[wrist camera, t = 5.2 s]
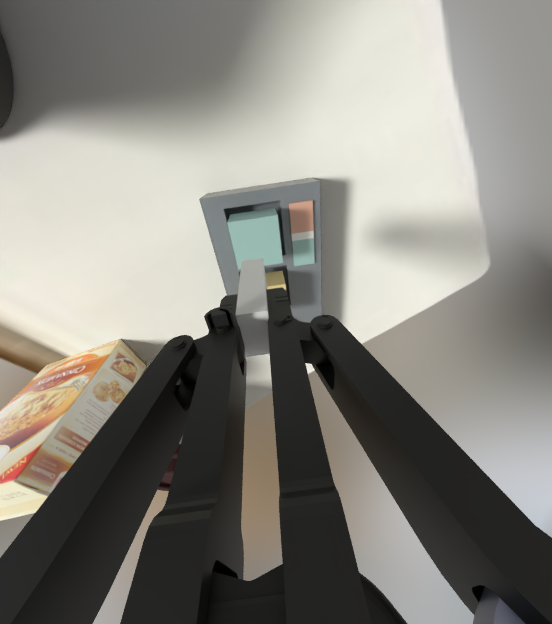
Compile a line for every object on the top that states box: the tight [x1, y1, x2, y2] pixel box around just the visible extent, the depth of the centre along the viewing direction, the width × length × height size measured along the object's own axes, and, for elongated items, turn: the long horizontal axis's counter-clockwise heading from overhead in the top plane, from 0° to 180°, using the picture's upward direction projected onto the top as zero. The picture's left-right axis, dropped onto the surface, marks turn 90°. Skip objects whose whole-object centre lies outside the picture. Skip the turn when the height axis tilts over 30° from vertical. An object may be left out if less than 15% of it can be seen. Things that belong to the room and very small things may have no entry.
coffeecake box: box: [0, 339, 147, 521], centre depth 31 cm, size 15×7×20 cm, turn 109°
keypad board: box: [199, 178, 322, 357], centre depth 30 cm, size 22×12×4 cm, turn 7°
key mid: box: [265, 271, 286, 290], centre depth 27 cm, size 5×5×4 cm
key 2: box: [227, 208, 283, 270], centre depth 23 cm, size 5×5×4 cm
